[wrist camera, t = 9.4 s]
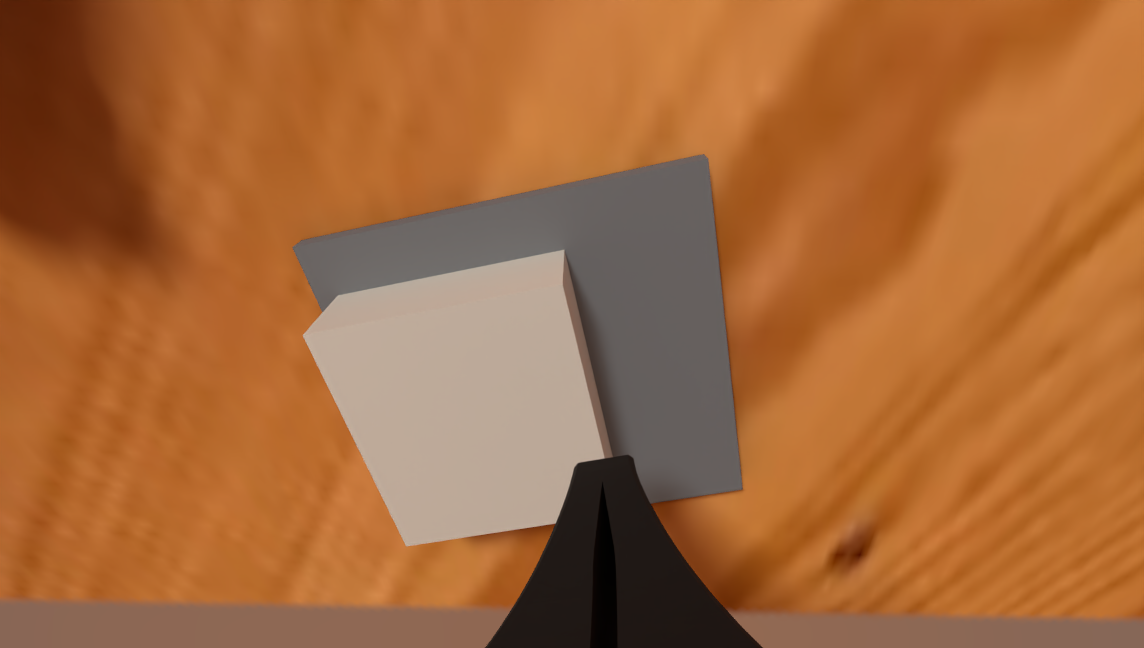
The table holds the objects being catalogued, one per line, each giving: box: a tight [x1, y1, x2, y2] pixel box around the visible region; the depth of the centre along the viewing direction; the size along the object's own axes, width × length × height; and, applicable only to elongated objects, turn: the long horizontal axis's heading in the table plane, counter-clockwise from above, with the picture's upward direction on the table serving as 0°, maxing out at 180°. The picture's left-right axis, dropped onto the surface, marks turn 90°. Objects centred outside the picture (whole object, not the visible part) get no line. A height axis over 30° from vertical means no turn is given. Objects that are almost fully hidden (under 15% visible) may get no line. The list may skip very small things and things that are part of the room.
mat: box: [293, 154, 742, 504], centre depth 19 cm, size 12×12×1 cm
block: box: [303, 250, 613, 546], centre depth 18 cm, size 2×8×7 cm
